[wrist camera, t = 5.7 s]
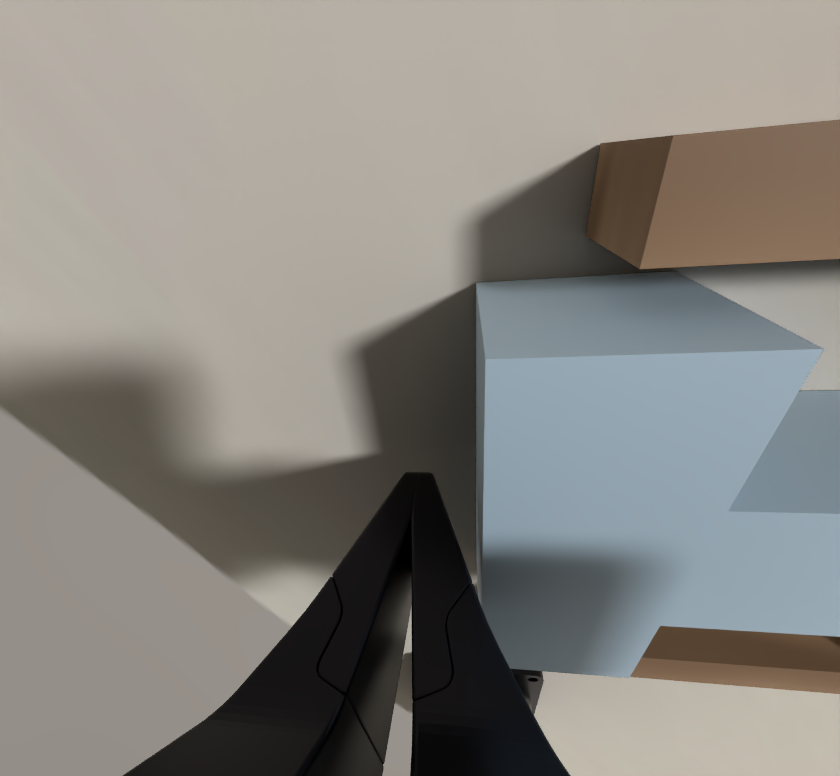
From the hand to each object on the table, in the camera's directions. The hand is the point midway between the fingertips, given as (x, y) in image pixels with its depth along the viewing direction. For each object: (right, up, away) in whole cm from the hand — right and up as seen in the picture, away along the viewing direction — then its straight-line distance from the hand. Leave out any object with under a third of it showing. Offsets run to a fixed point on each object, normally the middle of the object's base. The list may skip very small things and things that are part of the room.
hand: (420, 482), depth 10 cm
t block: (+7, +1, 0) cm, 7 cm away
